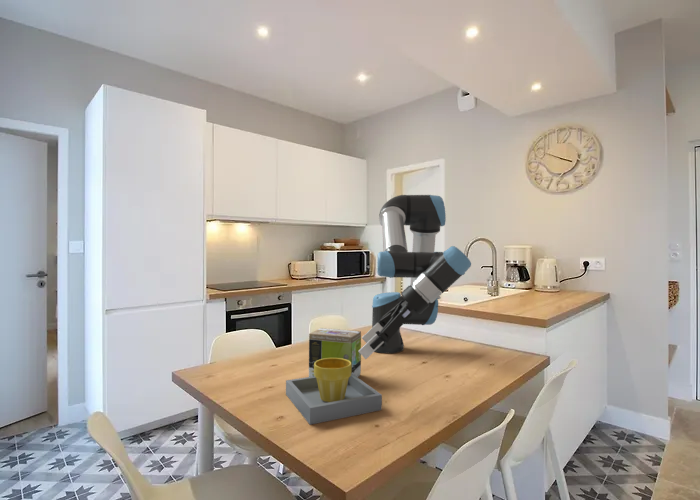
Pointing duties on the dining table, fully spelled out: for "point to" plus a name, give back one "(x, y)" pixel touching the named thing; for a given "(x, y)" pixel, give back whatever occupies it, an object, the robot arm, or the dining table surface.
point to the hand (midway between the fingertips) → (363, 347)
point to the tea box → (335, 347)
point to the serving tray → (317, 410)
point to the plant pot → (332, 378)
